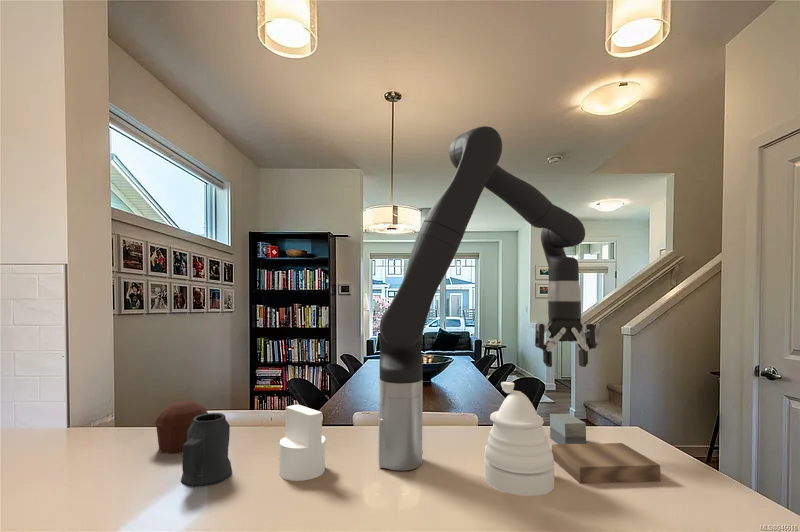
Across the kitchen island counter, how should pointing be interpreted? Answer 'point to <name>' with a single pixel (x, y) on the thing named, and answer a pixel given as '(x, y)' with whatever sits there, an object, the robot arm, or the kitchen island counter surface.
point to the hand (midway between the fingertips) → (565, 366)
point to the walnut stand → (605, 463)
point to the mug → (206, 451)
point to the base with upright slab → (302, 445)
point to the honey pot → (518, 448)
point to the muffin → (176, 425)
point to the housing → (567, 429)
